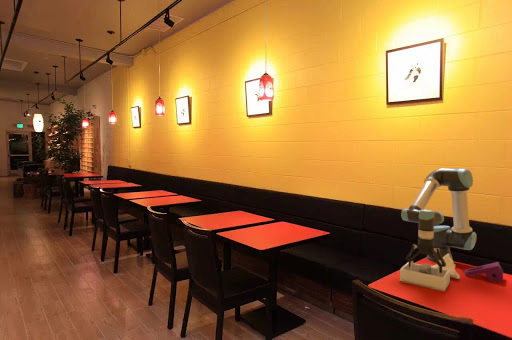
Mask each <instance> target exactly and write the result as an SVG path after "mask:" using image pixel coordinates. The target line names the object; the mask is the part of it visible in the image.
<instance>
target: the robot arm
mask: <svg viewBox="0 0 512 340" xmlns="http://www.w3.org/2000/svg"><path fill="white" fill-rule="evenodd" d="M473 178H474V177H473V174H472V172H471V171H470V170H469V169H468V168H457V167H456V168H454V167H453V168H452V167H449V168H448V167H442V168H441V167H440V168H438V169H435V170H433V171H431V172H430V173H429V174H427V175H426V178H424V180H423V185H422V187H421V188H420V190H419V192H418V193H417V195H416V196H415V198H414V200H413V201H412V203H411V205H410V206H409V207H408V208H403V209H402V210H401V213H400V216H401V219H402V220H403V221H405V222H411V223H417V224H418V234H417V235H418V237H417V238H418V239H417V245H416V244H414V243H413V244H412V245H411V249H410V250H409V252H408V253H407V255H405V257H404V258H405V260H406V261H408V262H409V267H411V271H413V263H414V259H415V258H416V257H418V255H420V254H421V255H426V258H427V259H428V260H430V261H433V262H435V264H436V263H437V264H438V271H437V276H439V277H440V273H442V267H445V266H446V263H445V261H444V259H443V257H444V256H445V255H447V254H449V255H450V257H451V259H452V260H453V256H452V253H451V250H450V249H451V248H457V249H460V250H467V251H471V250H473V248H474V247H475V246H476V242H477V233H476V232H475V231H473V228H472V227H471V226H470V220H469V219H470V217H469V206H468V205H469V204H468V202H469V201H468V191H470V188H471V187H473V185H474V183H473V181H474V180H473ZM440 187H447V189H448V191H449V192H450V195H451V207H452V219H453V226H452V227H451V226H449V225H440V224H442V223H444V221H445V217H444V215H443V213H442V212H440V211H434V210H432V209H425V208H426V206H427V205H428V203H429V201H430V200H431V198H432V196H433V195H434V193H435V192H436V190H438V189H439V188H440ZM416 249H417V252H416V253H414V255H412V254H413V252H414V251H415V250H416ZM439 260H440V261H441V262H440V261H439ZM441 263H442V264H441Z"/></svg>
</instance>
